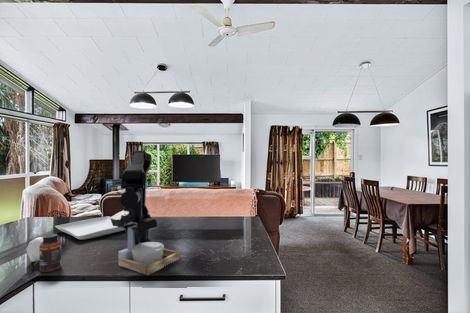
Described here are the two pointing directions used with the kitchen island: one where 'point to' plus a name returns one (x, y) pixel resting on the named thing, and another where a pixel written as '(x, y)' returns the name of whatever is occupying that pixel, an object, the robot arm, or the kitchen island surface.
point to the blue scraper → (131, 243)
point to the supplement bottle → (50, 253)
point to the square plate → (90, 228)
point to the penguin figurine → (34, 249)
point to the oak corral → (146, 269)
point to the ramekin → (148, 252)
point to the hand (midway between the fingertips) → (133, 244)
